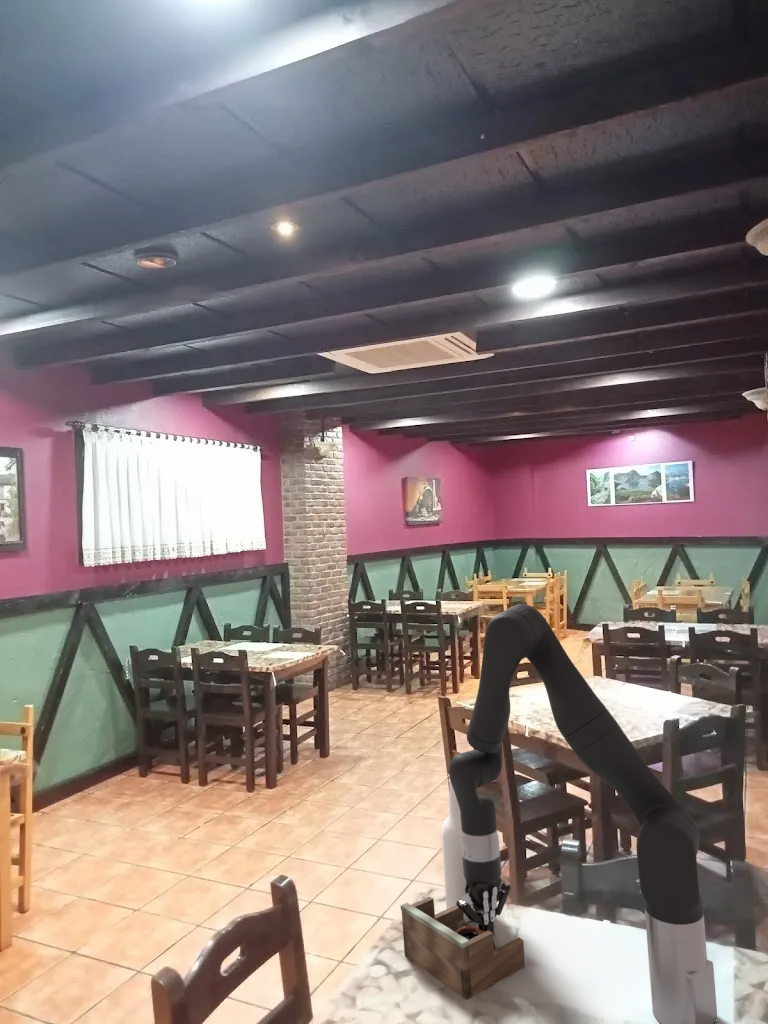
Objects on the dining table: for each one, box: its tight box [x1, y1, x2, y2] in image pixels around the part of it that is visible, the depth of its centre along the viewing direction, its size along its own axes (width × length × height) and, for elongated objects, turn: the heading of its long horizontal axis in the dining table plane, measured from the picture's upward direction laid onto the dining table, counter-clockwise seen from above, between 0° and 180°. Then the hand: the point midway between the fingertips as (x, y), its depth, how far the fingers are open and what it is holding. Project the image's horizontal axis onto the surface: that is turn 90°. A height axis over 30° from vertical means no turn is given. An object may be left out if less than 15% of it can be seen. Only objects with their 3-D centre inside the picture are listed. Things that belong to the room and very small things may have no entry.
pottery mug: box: [455, 920, 497, 950], centre depth 141 cm, size 12×10×8 cm
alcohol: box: [440, 773, 475, 923], centre depth 161 cm, size 9×9×30 cm
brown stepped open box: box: [399, 896, 526, 1000], centre depth 142 cm, size 18×15×10 cm
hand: (487, 940), depth 146 cm, fingers closed
